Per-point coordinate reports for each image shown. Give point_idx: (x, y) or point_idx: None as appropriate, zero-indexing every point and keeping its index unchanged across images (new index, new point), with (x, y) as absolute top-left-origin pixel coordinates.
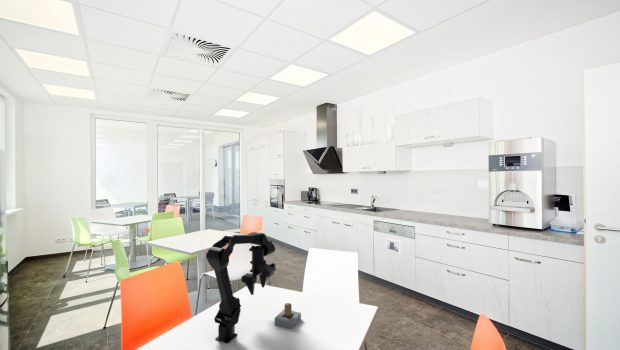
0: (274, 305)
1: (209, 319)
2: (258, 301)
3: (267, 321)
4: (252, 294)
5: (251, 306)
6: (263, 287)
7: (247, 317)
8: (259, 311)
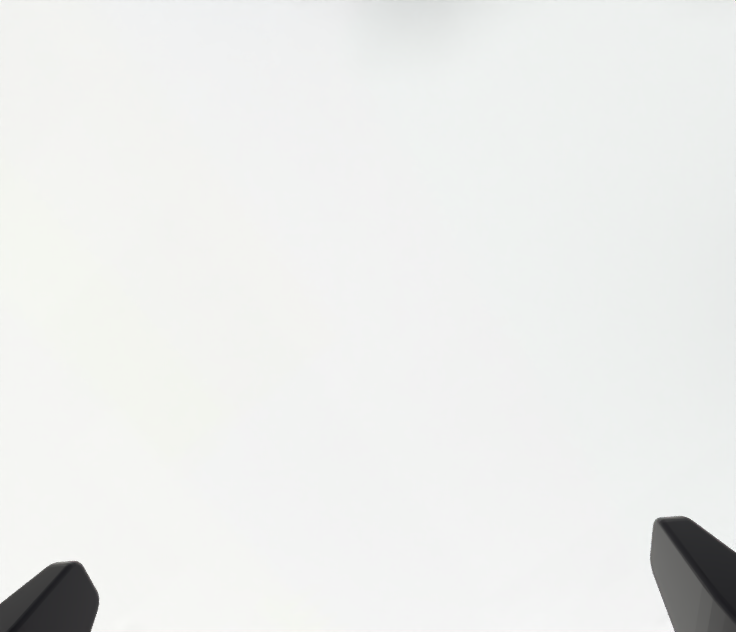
0: (42, 276)
1: None
2: (125, 480)
3: (414, 62)
4: (695, 535)
5: (254, 471)
6: (79, 564)
7: (466, 357)
8: (278, 333)
